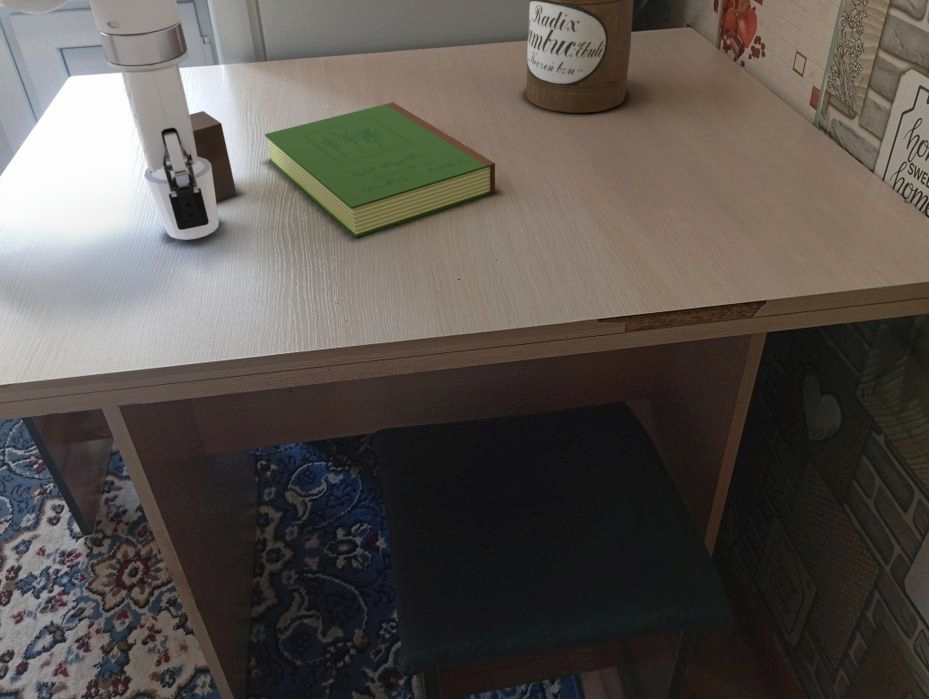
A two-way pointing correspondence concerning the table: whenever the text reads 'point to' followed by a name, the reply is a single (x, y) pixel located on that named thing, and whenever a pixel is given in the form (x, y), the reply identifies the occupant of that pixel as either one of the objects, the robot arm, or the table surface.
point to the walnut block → (214, 152)
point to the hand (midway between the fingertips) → (188, 209)
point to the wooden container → (578, 54)
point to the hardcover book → (379, 167)
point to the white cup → (162, 201)
